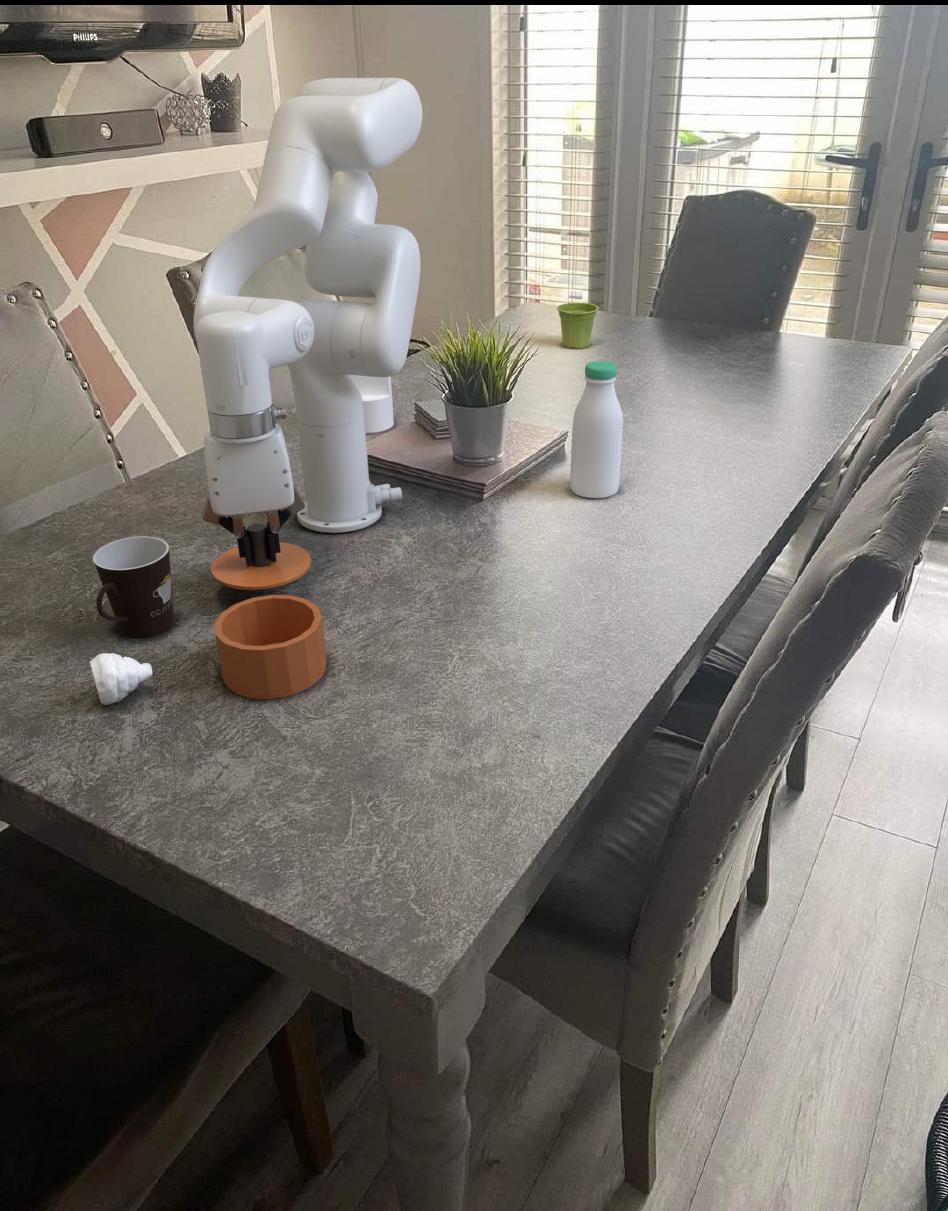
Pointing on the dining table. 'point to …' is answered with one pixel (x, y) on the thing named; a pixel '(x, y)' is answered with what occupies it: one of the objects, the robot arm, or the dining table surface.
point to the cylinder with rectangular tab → (376, 402)
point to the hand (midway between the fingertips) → (260, 558)
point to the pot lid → (260, 564)
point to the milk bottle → (597, 435)
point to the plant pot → (577, 323)
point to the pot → (271, 646)
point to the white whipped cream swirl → (117, 676)
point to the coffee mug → (136, 585)
